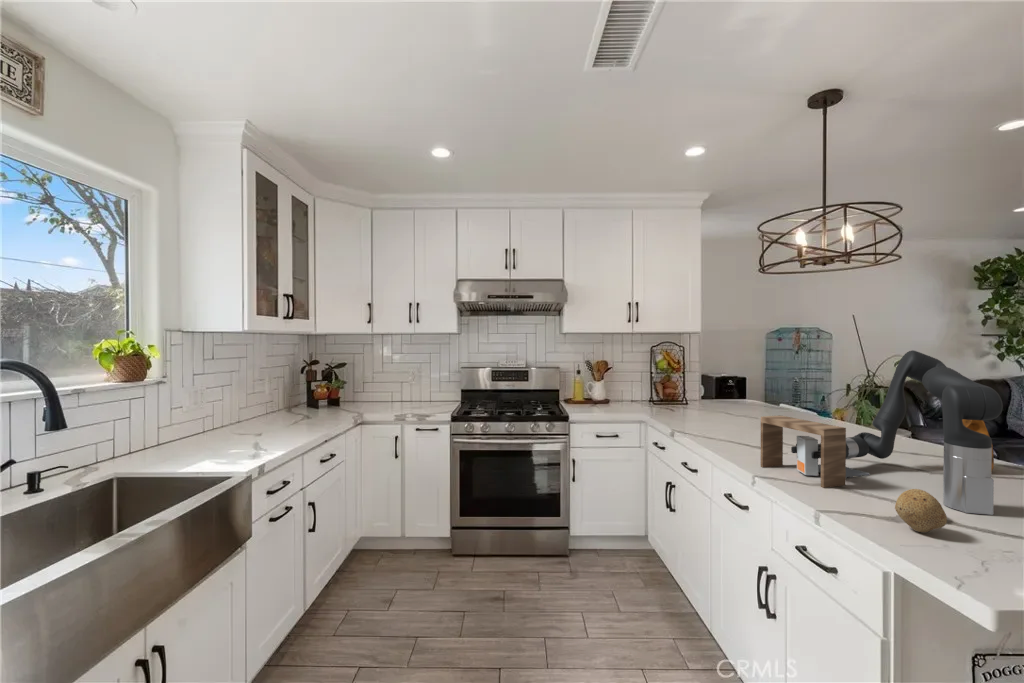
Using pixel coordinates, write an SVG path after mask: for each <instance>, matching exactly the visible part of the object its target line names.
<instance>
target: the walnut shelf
mask: <svg viewBox="0 0 1024 683" xmlns="http://www.w3.org/2000/svg"><path fill="white" fill-rule="evenodd" d="M784 428H785V429H790V430H795V431H799V432H804V433H808V434H813V435H818V436H820V443H821V458H820V464H821V473H820V488H822V489H827V488H834V487H841V486H846V481H847V480H846V479H847V478H846V467H847V466H846V465H847V464H846V462H847V459H846V438H847V433H846V432H847V428H846V427H843V426H836V425H833V424H827V423H823V422H822V423H821V422H816V421H811V420H806V419H802V418H796V417H792V416H786V415H765V416H760V467H761V468H771V467H781V466H784V465H783V463H784V461H783V460H784V458H783V456H784V455H783V454H784V453H783V452H784V449H783V448H784V441H783V440H784V433H783V432H784Z"/></svg>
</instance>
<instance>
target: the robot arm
mask: <svg viewBox="0 0 1024 683" xmlns="http://www.w3.org/2000/svg"><path fill="white" fill-rule="evenodd" d="M907 378H910V379H912V380H914V381H917V382H920V383H922V385H923V388H924V389H925V390H926V391H928V392H929V393H930V394H931V395H932V396H934V397H935V398H937V399H940V400H941V410H942V431H943V432H942V433H943V469H942V470H943V475H942V478H943V479H942V480H943V483H942V484H943V485H942V487H943V493H942V494H943V495H942V496H943V498H942V503H943V505H944V506H945V507H948V508H951V509H952V510H953V509H954V510H957V511H960V512H962V513H966V514H980V515H989V516H991V515H994V502H995V501H994V494H995V492H994V488H995V487H994V484H995V483H994V481H995V480H994V478H993V477H992V472H991V462H992V445H993V440H992V438H991V437H989V436H990V435H989V436H987V435H985V434H982V433H979V432H976V431H973V430H971V429H969V428H967V427H965V426H964V425H963V421H962V419H965V420H983V421H984V422H985V421H992V420H995V419H997V418H998V417H999V416H1000V415H1002V412H1003V409H1004V408H1003V407H1004V406H1003V401H1002V397H1001V396H1000V394H999V393H998V392H997V390H995V389H993V388H992V387H990V386H987V385H984V384H982V383H979V382H976V381H974V380H972V379H970V378H968V377H966V376H965V375H964V374H962V373H960V372H958V371H957V370H955V369H953V368H950V367H948V366H946V364H945V363H944V362H943V361H941V360H939V359H938V358H936V357H933V356H931V355H927V354H925V353H922V352H920V351H917V350H913V349H912V350H909V351H907V352H905V353H904V354H903V355H902V357H901V358H900V360H899V362H898V364H897V366H896V367H895V371H894V373H893V377H892V379H891V381H890V384H889V387H888V390H887V392H886V395H885V398H884V400H883V403H882V405H881V406H880V408H879V410H878V411H877V413H876V416H875V417H874V419H873V421H872V426H873V427H874V428H875V429H878V430H879V431H880V433H881V435H880V436H878V435H875V434H874V433H871V432H864V431H863V432H860V433H858V434H856V435H854V436H849V437H847V436H846V460H850V459H854V458H862V457H865V456H867V455H868V454H869V455H870V456H873V457H875V458H876V459H877V458H878V459H882V460H884V459H887V458H888V457H890V456H891V455H892V454H893V451H894V447H895V442H896V441H895V440H896V436H897V431H898V429H899V428H900V425H901V424H902V422H903V421H904V418H905V417H906V414H907V403H906V397H905V382H906V380H907ZM790 452H791V453H792V454H797V443H795V445H794V446H793V445H792V446H791V451H790ZM812 458H813V459H818V460H819V459H821V442H820V443H818V451H814V452H812Z"/></svg>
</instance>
